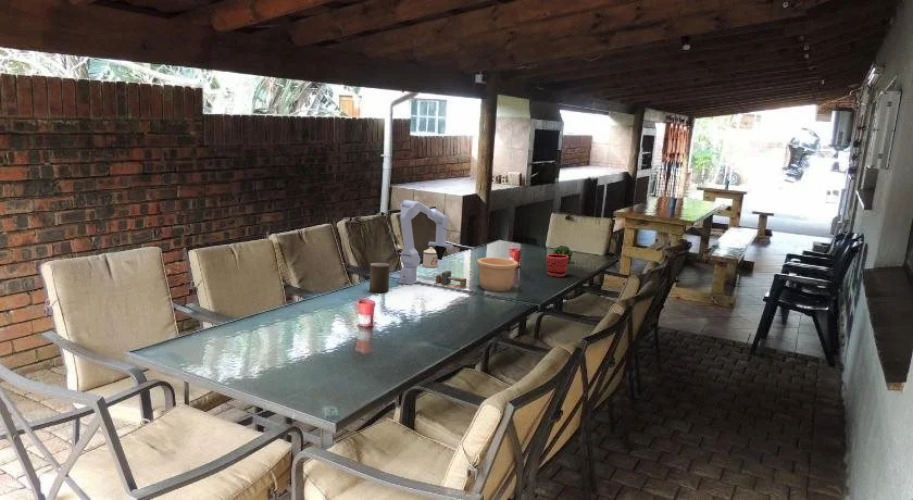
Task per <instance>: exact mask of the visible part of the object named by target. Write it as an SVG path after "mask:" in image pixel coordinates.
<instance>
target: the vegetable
mask: <svg viewBox="0 0 913 500" xmlns="http://www.w3.org/2000/svg"><path fill="white" fill-rule="evenodd" d="M551 254H559V255H566V256H568V257H569V260H568V262H570V261H571V259H572V256H573V250H571V249H570V248H569V246H566V245H559V246H557V247H555V248H554V250H553V252H552V253H551ZM564 265H565V264H564Z"/></svg>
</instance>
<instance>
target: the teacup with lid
mask: <svg viewBox="0 0 913 500" xmlns="http://www.w3.org/2000/svg"><path fill="white" fill-rule="evenodd" d="M433 247H434V246H429V247H428V248H427V249H425V250H423V259H422V260H423V261H422V265H423V267H424V268H431V269H432V268H437V267H438V263H439V260H438V257H437V253H436V251H435V249H434V248H433Z"/></svg>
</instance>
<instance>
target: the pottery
mask: <svg viewBox="0 0 913 500" xmlns="http://www.w3.org/2000/svg"><path fill="white" fill-rule="evenodd" d="M476 265H478V271H479V273H478V274H479V283H480V288H481V289H484V290H487V291H491V292H492V291H493V292H506V291H510V290H512V285H513V281H514V275H515V270H516V268H518V266H519V262H518V261H517V260H514V259H511V258H505V257H497V256H496V257H495V256H494V257H489V256H488V257H481V258H477V260H476Z"/></svg>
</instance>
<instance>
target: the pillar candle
mask: <svg viewBox="0 0 913 500" xmlns="http://www.w3.org/2000/svg"><path fill="white" fill-rule="evenodd" d="M369 271H370V272H369V292H371V293H375V294H385V293H388V292H389V290H390V289H389V288H390V264H389V263H385V262H374V263H373V262H372V263H370V267H369Z"/></svg>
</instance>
